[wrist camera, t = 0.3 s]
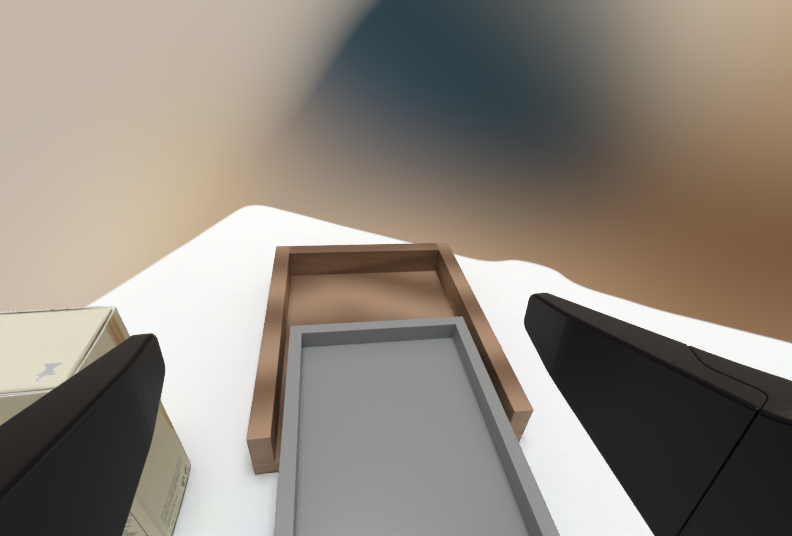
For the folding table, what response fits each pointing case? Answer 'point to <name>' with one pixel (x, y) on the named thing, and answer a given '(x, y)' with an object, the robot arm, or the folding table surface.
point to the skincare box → (64, 357)
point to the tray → (399, 437)
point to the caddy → (365, 319)
